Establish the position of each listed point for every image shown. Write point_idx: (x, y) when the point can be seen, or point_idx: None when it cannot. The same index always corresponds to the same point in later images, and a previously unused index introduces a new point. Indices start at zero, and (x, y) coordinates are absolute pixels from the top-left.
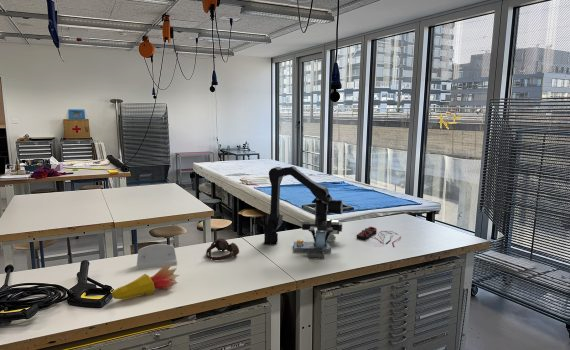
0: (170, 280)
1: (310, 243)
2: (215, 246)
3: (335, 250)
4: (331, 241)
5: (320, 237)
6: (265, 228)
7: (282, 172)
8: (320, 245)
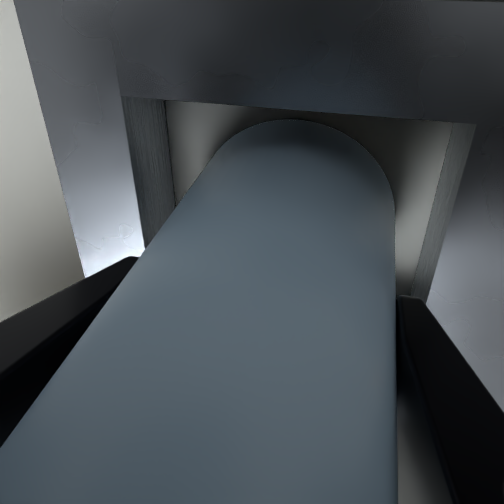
0: None
1: (476, 363)
2: None
3: (8, 113)
4: None
5: (222, 324)
6: None
7: None
8: (279, 167)
